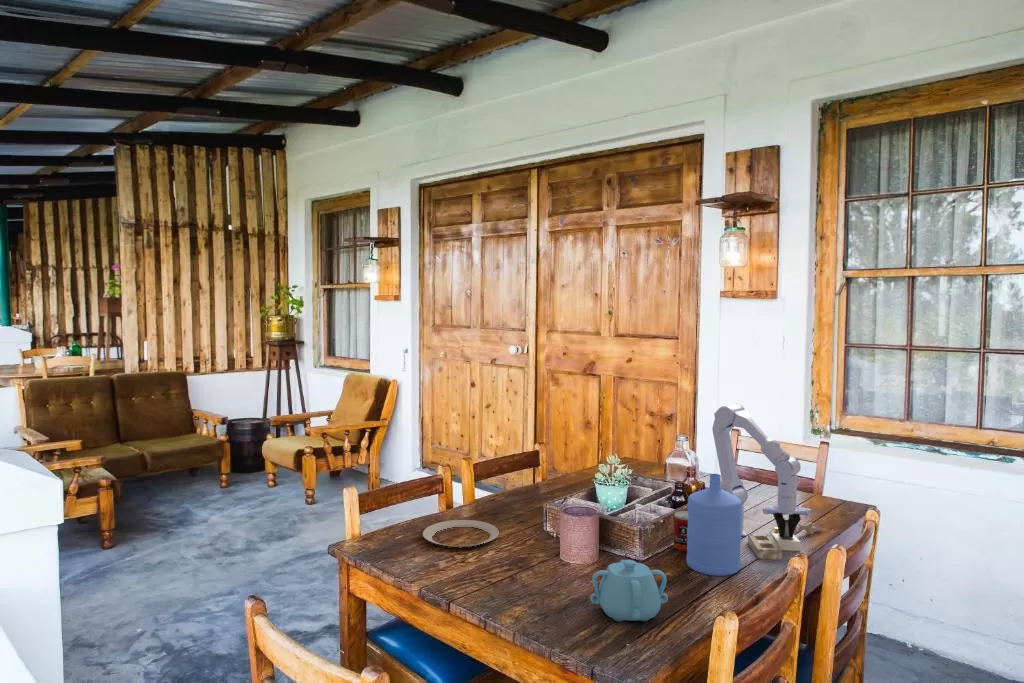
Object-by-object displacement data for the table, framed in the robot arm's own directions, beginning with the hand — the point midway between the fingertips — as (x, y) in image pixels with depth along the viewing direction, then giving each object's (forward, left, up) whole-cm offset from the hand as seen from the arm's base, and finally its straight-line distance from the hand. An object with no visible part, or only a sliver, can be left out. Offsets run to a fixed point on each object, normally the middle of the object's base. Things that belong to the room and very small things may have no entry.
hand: (785, 536), depth 226 cm
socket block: (0, +4, -3) cm, 6 cm away
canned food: (-32, -5, -4) cm, 33 cm away
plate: (-106, -4, -4) cm, 107 cm away
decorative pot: (-53, -54, -4) cm, 76 cm away
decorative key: (+9, +12, -3) cm, 15 cm away
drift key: (0, +5, -3) cm, 6 cm away
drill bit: (0, 0, -3) cm, 3 cm away
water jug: (-26, -20, -4) cm, 33 cm away
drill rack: (-8, -5, -3) cm, 10 cm away
